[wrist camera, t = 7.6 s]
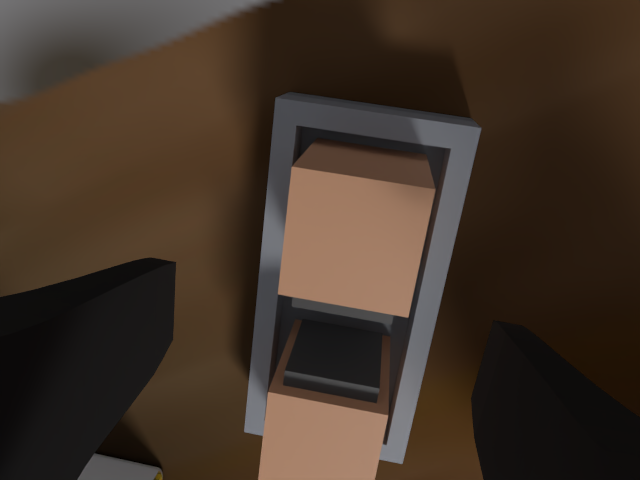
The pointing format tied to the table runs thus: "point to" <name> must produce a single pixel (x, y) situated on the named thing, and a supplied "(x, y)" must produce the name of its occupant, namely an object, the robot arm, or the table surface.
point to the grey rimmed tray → (341, 331)
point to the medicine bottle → (118, 470)
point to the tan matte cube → (355, 229)
